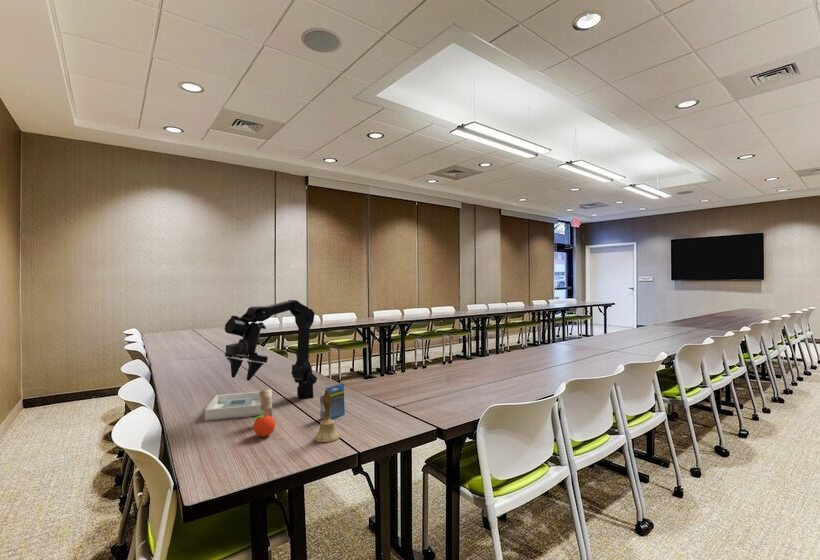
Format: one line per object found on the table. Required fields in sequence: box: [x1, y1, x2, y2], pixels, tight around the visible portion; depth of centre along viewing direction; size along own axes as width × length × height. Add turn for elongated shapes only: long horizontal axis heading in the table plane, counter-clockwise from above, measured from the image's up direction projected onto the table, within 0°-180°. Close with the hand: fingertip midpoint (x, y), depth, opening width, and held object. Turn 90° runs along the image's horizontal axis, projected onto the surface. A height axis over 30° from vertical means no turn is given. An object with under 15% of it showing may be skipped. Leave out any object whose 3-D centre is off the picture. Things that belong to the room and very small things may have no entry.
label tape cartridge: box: [319, 382, 346, 421], centre depth 151 cm, size 9×4×12 cm, turn 139°
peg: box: [259, 389, 273, 418], centre depth 145 cm, size 4×4×12 cm
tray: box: [204, 391, 261, 422], centre depth 161 cm, size 20×20×4 cm
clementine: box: [249, 415, 276, 437], centre depth 133 cm, size 8×7×7 cm
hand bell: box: [314, 389, 341, 443], centre depth 131 cm, size 8×8×16 cm
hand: (240, 378), depth 150 cm, fingers open, 9 cm apart
